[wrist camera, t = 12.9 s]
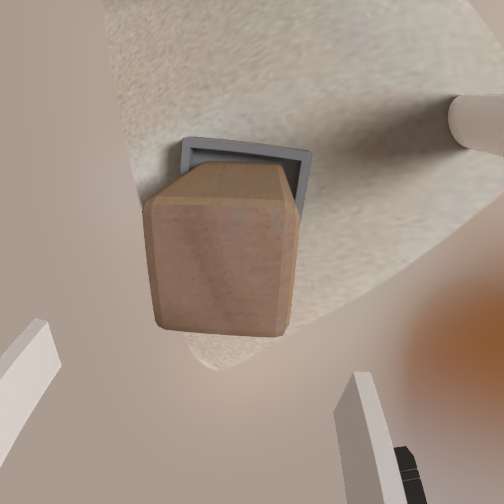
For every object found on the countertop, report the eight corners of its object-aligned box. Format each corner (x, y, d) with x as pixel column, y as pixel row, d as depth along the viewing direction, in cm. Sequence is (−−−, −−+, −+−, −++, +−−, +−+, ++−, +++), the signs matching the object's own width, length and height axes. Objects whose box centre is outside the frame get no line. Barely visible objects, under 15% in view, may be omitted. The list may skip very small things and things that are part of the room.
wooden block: (201, 237, 40) (152, 333, 22) (200, 159, 36) (135, 200, 18) (279, 240, 40) (288, 343, 22) (284, 162, 36) (303, 205, 18)
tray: (190, 136, 36) (182, 138, 33) (308, 150, 36) (312, 153, 33) (182, 244, 42) (175, 255, 39) (289, 258, 42) (290, 270, 39)
